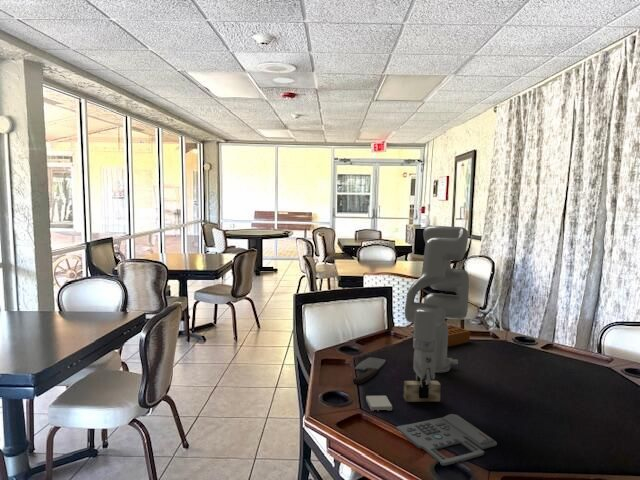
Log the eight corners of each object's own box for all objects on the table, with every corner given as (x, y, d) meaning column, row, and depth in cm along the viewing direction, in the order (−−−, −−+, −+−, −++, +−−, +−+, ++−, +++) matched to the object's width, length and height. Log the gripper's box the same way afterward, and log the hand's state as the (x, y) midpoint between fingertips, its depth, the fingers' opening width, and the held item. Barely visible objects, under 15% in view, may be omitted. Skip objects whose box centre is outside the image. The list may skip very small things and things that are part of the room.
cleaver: (366, 387, 155) (366, 381, 155) (341, 381, 159) (341, 376, 159) (387, 362, 183) (387, 357, 182) (365, 358, 187) (366, 353, 186)
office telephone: (456, 410, 135) (506, 442, 116) (456, 417, 135) (506, 451, 116) (396, 422, 125) (440, 459, 107) (395, 430, 125) (439, 469, 107)
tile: (385, 395, 145) (366, 395, 144) (392, 406, 137) (371, 406, 136) (385, 400, 145) (365, 400, 144) (392, 411, 137) (371, 411, 136)
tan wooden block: (436, 397, 148) (437, 380, 147) (439, 401, 144) (440, 384, 144) (403, 397, 147) (404, 380, 146) (406, 401, 143) (406, 384, 143)
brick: (450, 336, 223) (451, 325, 222) (469, 342, 213) (470, 330, 212) (417, 342, 209) (417, 331, 209) (435, 350, 199) (436, 337, 199)
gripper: (443, 351, 136) (440, 406, 137) (426, 337, 153) (424, 385, 154) (421, 351, 136) (418, 406, 137) (406, 336, 152) (404, 385, 153)
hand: (421, 395), depth 145 cm, fingers closed on tan wooden block, 3 cm apart
